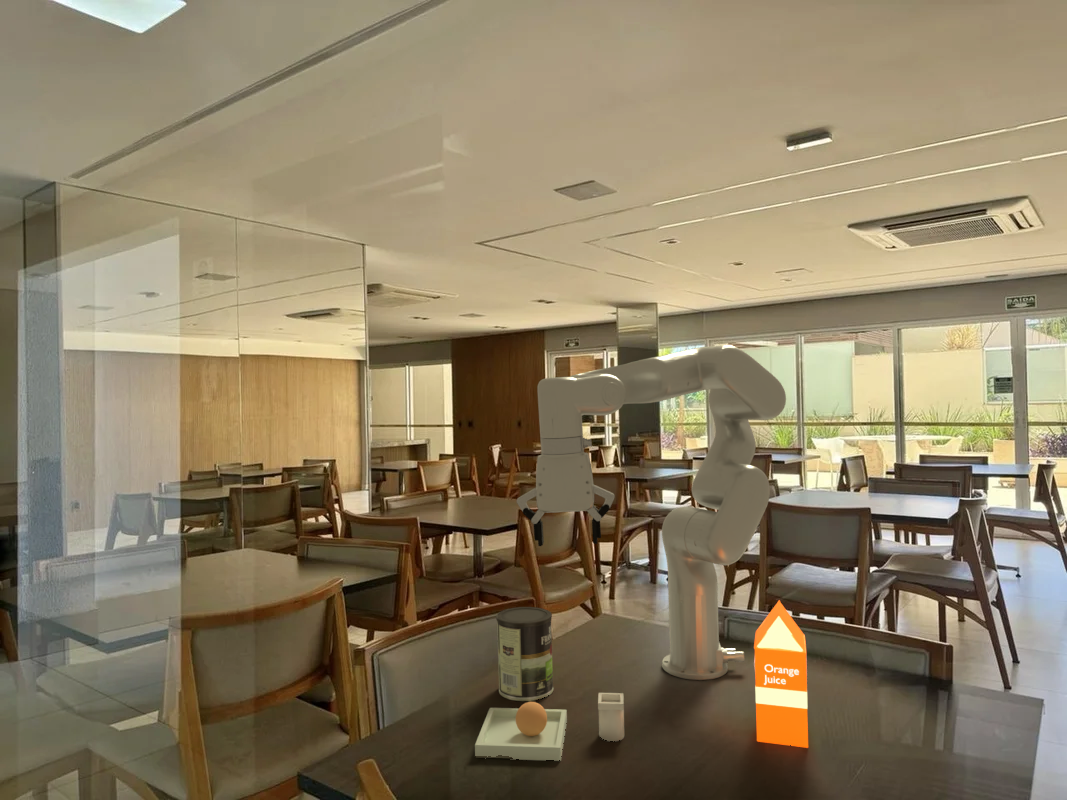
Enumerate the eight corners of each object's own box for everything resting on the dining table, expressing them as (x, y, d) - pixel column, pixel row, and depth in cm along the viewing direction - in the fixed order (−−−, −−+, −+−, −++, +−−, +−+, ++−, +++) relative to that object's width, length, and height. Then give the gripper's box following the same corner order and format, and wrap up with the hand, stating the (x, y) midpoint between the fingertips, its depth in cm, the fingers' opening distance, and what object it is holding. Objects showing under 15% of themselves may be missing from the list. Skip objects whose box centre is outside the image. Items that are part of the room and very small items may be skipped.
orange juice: (807, 722, 119) (804, 600, 118) (809, 748, 110) (806, 617, 110) (757, 717, 121) (754, 597, 121) (755, 741, 113) (752, 613, 113)
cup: (624, 730, 118) (623, 693, 118) (624, 741, 114) (623, 703, 114) (599, 729, 118) (598, 692, 118) (598, 741, 114) (597, 703, 114)
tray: (566, 721, 121) (566, 709, 121) (560, 760, 108) (560, 747, 108) (490, 719, 123) (489, 707, 123) (475, 758, 110) (474, 744, 110)
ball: (538, 732, 118) (554, 707, 117) (535, 748, 113) (551, 721, 112) (512, 715, 118) (527, 690, 118) (507, 730, 113) (523, 704, 113)
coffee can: (557, 680, 139) (556, 607, 138) (548, 703, 129) (546, 624, 128) (505, 677, 141) (503, 605, 141) (491, 700, 131) (489, 622, 130)
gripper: (611, 442, 131) (616, 536, 131) (516, 447, 132) (521, 540, 133) (611, 446, 123) (617, 546, 124) (511, 451, 125) (517, 550, 125)
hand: (568, 543), depth 128 cm, fingers open, 9 cm apart
